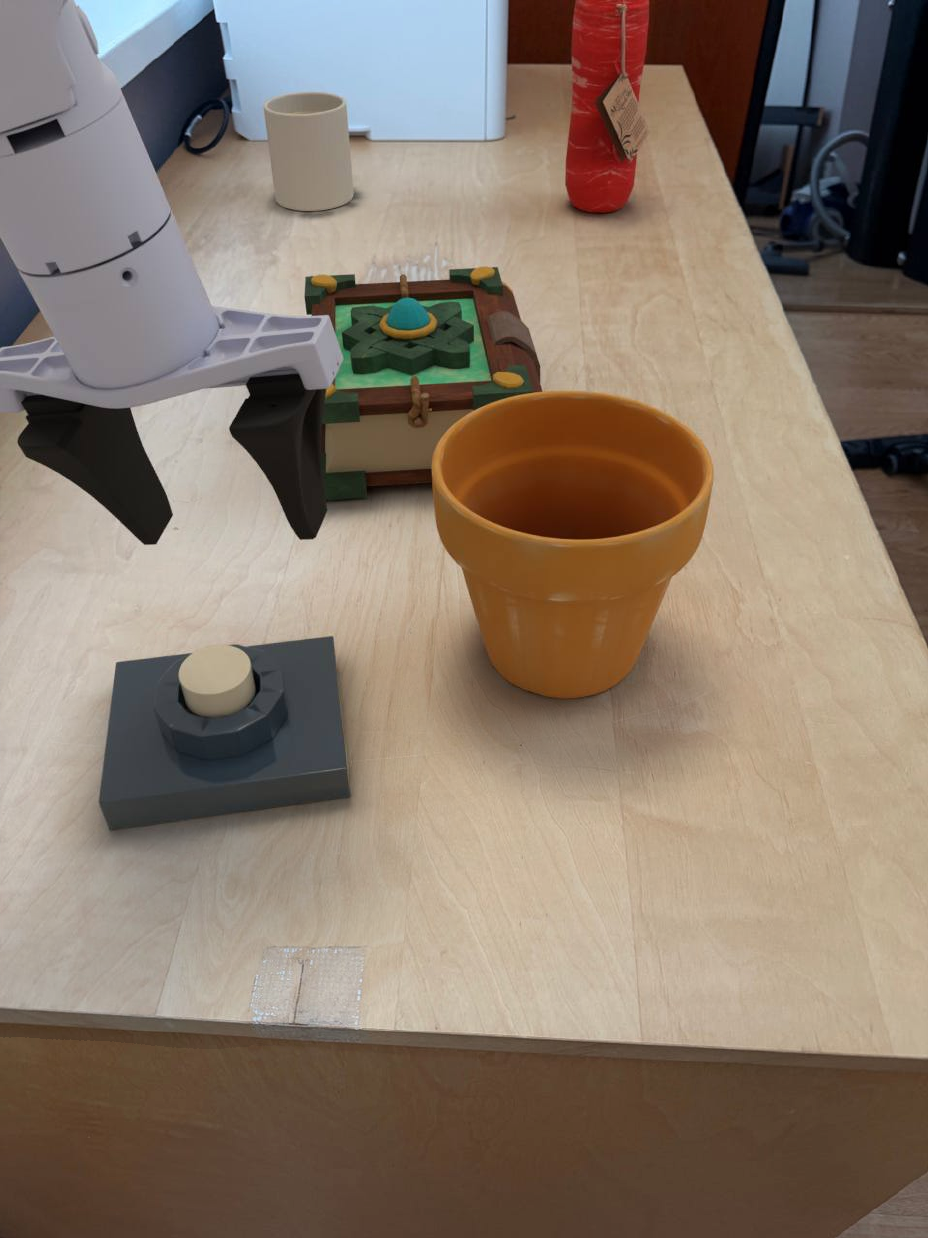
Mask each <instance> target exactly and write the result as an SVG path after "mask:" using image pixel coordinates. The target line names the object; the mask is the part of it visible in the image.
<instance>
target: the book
mask: <svg viewBox="0 0 928 1238" xmlns="http://www.w3.org/2000/svg"><path fill="white" fill-rule="evenodd" d="M448 276H449V277H448V278H449V279H431V280H411V281H408V277H407V275H406V274H404V273H403V274H400V276H399V281H393V282H391V281H390V282H389V281H388V282H373V283H356V274H355V273H351V274H350V273H349V274H331V275H330V274H329V275H328V274H316V275H310V276H305V278H304V279H305V281H304V295H303V297H304V306H305V314H306V316H321V315H328V316H329V317H330V320H331V323H332V326H333V329H334V332H335V335H336V338H337V340H338V343H339V346H340V349H341V352H342V355H343V358H344V359H343V361H342V363H341V365H340V369H339V371H338V373H337V375H336V377H335V378H334V380H333V382H332V384H331V386H330V388H328V389H326V395H325V402H324V410H323V419H322V433H321V461H322V476H323V485H324V493H325V499H326V501H332V500H333V501H334V500H335V501H336V500H349V499H351V500H352V499H364V498H365V499H366V498H368V492H367V490H368V488H367V487H376V486H377V487H379V486H393V485H394V486H395V485H411V484H412V485H413V484H427V483H432V469H431V465H432V457H433V453H434V450H435V448H436V446H437V443H438V442H439V440H440V439H441V437H442V436H443V435H444V434H445V432H446V431H447V430H448V429H449V428H450V427H451V426H452V425H454V424H455V423H456V422H457V421H459V420H460V419H461V418H463V417H464V416H466V415H467V414H469V413H471V412H473V411H474V410H476V409H478V408H481V407H483V406H485V405H488V404H490V403H493V402H496V401H499V400H502V399H505V398H509V397H513V396H517V395H523V394H529V393H536V392H544V391H543V389H542V384H541V364H540V361H539V357H538V353H537V351H536V348H535V344H534V341H533V337H532V335H531V332H530V329H529V327H528V326H527V325H526V324H525V322H523V321H522V318H521V315H520V312H519V308H518V305H517V302H516V298H515V295H514V291H513V290H512V288H511V287H510V286H509V285H508V284H507V283H506V282H504V281H502V277H501V273H500V271H499V267H498V266H492V267H491V266H479V267H470V268H453V269H452V268H451V269H448Z"/></svg>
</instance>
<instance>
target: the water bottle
mask: <svg viewBox="0 0 928 1238" xmlns="http://www.w3.org/2000/svg"><path fill="white" fill-rule="evenodd" d="M574 3H575V4H574V11H573V18H572V30H571V31H572V33H571V49H570V50H571V51H570V52H571V74H572V75H571V77H572V86H571V87H572V90H571V91H572V92H571V112H570V119H569V129H568V137H567V146H566V155H565V156H566V157H565V173H564V174H565V175H564V176H565V178H564V179H565V180H564V186H565V189H566V193H567V195H568V199H569V202H570V203H571V205H572V206H574V207H575V208H576V209H578V210H579V211H582V212H586V213H590V214H606V213H613V212H616V211H618V210H620V209H621V208H623V207H625V206H626V204H627V203H628V201H629V199H630V197H631V194H632V192H633V189H634V186H635V179H636V171H637V170H636V169H637V159H638V152H639V150H640V149H641V147H642V145H643V144H644V143H645V141H646V139H647V138H648V136H649V134H650V133H651V131H650V128H649V125H648V123H647V122H646V118H645V116H644V114H643V112H642V109H641V106H640V104H639V103H640V91H641V83H642V77H643V71H644V66H645V60H646V54H647V45H648V36H649V35H648V34H649V22H650V0H575V2H574Z"/></svg>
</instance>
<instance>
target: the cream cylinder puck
mask: <svg viewBox="0 0 928 1238" xmlns="http://www.w3.org/2000/svg"><path fill="white" fill-rule="evenodd" d="M229 645H230V644H217V645H216V644H215V645H209V646H205V647H203V648H200V649H197V650H196V651H194V652H191V653H192V654H191V655H190V656H188V657H187V658H186V659H185V660H184V662H183V663H182V665H181V667H180V669H179V681H180V684H181V688H182V692H183V695H184V699H185V703H186V705H187V707H188V708H189V709H190V710H191V711H192V712H193V713H195V714H197V715H199V716H202V717H206V718H214V717H222V716H230V715H233V714H235V713H236V712H238V711H240V710H242V709H244V708H245V707H246V706H247V705H248V704H249V703H250V702H251V700H252V699H253V697H254V695H255V691H256V686H255V681H254V676H253V671H252V666H251V662H250V659H249V657H248V656H247V654H246V653H245V652H244V651H242V650H241V649H239V648H236V647H233V646H229Z"/></svg>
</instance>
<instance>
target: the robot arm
mask: <svg viewBox="0 0 928 1238" xmlns="http://www.w3.org/2000/svg"><path fill="white" fill-rule="evenodd" d="M98 44H99V43H98V40H97V37H96V35H95V32H94V30H93V28H92V25H91V22H90V20H89V18H88V16H87V14H86V13H85V11H83V9H82V8H81V7H80V5H77V4H76V2H75V0H0V239H1V242H2V243H3V245H4V247H5V249H6V251H7V253H8V254H9V257H10V258H11V260H12V261H13V263H14V265H15V267H16V270H17V272H18V273H19V275H20V277H21V278H22V281H23V283H24V284H25V286H26V288H27V290H28V292H29V293H30V295H31V297H32V298H33V300H34V302H35V304H36V306H37V308H38V309H39V311H40V313H41V314H42V316H43V319H44V320H45V322H46V324H47V326H48V327H49V330H50V331H51V332H52V335H53V336H51V337H47V338H44V339H40V340H36V341H31V342H27V343H22V344H17V345H9V346H1V347H0V413H1V414H4V415H5V414H16V413H23V412H24V411H25V412H26V414H27V415H26V416H25V419H26V421H27V425H26V426H25V427H24V428H23V430H22V431H21V433H20V434H19V436H18V437H17V441H16V442H17V445H18V447H19V448H20V451H21V452H22V453H23V455H24V456H25V458H27V459H29V460H32V461H34V462H36V463H38V464H40V465H43V466H45V467H46V468H48V469H50V470H52V471H54V472H56V473H57V474H59V475H60V476H62V477H64V478H65V479H67V480H68V481H70V482H71V483H73V484H74V485H76V486H77V487H79V488H80V489H82V491H84V492H86V493H87V494H88V495H90V497H92V498H93V499H94V500H95V501H97V502H98V503H99V504H100V505H101V506H102V507H104V508H105V509H106V510H107V511H108V512H109V513H110V514H111V515H112V516H113V517H115V518H116V519H117V520H118V521H119V522H120V523H121V524H122V525H123V526H124V527H125V528H126V529H127V530H128V531H129V532H130V533H131V534H132V535H133V536H134V537H135V538H136V539H137V540H139V542H141V543H142V545H144V546H150V545H152V546H153V545H157V544H158V542H159V540H160V539H161V537H162V535H163V534H164V532H165V530H166V528H167V526H168V525H169V523H170V521H171V519H172V518H173V517H174V513H173V510H172V507H171V503H170V500H169V498H168V495H167V492H166V490H165V487H164V486H163V484H162V482H161V479H160V478H159V476H158V474H157V471H156V470H155V468H154V466H153V464H152V462H151V460H150V458H149V456H148V454H147V452H146V449H145V447H144V445H143V442H142V439H141V437H140V434H139V431H138V428H137V424H136V422H135V418H134V416H133V413H132V408H136V407H137V408H138V407H142V406H145V405H146V406H147V405H149V404H154V403H157V402H160V401H164V400H168V399H172V398H175V397H179V396H182V395H187V394H190V393H193V392H198V391H200V390H206V389H217V388H218V389H219V388H229V387H231V388H232V387H241V386H243V387H244V386H246V389H247V391H248V394H249V395H248V397H246V398H245V399H244V400H243V402H242V404H241V405H240V408H239V409H238V411H237V413H236V414H235V416H234V418H233V420H232V422H231V424H230V425H229V426H228V430H229V432H230V436H231V437H232V438H233V440H235V441H236V442H237V443H238V444H239V445H240V446H241V447H242V448H243V449H245V451H246V452H247V453H248V454H249V455H250V457H251V458H252V459H253V461H254V462H255V463H256V465H257V466H258V467H259V468H260V470H261V472H262V473H263V474H264V476H265V477H266V479H267V481H268V482H269V484H270V485H271V487H272V489H273V491H274V493H275V495H276V498H277V500H278V502H279V504H280V506H281V509H282V511H283V513H284V516H285V518H286V519H287V523H288V524H289V526H290V528H291V530H292V531H293V533H294V534H295V535H296V537H297V538H298V539H299V540H300V541H302V540H303V541H306V540H308V541H309V540H315V539H316V538H317V536H318V534H319V531H320V529H321V527H322V525H323V522H324V520H325V517H326V515H327V513H328V506H327V500H326V499H325V493H324V485H323V476H322V461H321V433H322V419H323V410H324V402H325V395H326V389H328V388H330V386H331V384H332V382H333V380H334V378H335V377H336V375H337V373H338V371H339V369H340V365H341V363H342V361H343V359H344V358H343V355H342V352H341V349H340V346H339V343H338V340H337V338H336V335H335V332H334V329H333V326H332V323H331V320H330V317H329V316H328V315H321V316H312V315H287V314H286V315H285V314H277V313H269V312H261V311H254V310H246V309H239V308H230V307H221V306H214V305H212V303H211V301H210V299H209V296H208V294H207V291H206V289H205V286H204V285H203V282H202V279H201V277H200V275H199V273H198V270H197V267H196V265H195V263H194V261H193V258H192V255H191V253H190V251H189V249H188V248H189V247H188V246H187V244H186V241H185V239H184V236H183V234H182V232H181V230H180V227H179V225H178V222H177V220H176V218H175V215H174V213H173V211H172V208H171V206H170V203H169V200H168V198H167V196H166V193H165V191H164V189H163V187H162V184H161V181H160V179H159V176H158V174H157V172H156V170H155V167H154V165H153V163H152V160H151V158H150V156H149V153H148V150H147V148H146V146H145V144H144V141H143V139H142V136H141V134H140V132H139V130H138V129H139V128H138V127H137V125H136V122H135V120H134V118H133V115H132V113H131V110H130V108H129V106H128V103H127V101H126V97H125V96H124V94H123V91H122V89H121V85H120V84H119V81H118V79H117V76H116V75H115V74H114V72H113V71H112V70H111V69H110V68H109V67H108V66H107V65H105V63H103V62H102V60H101V59H100V57H99V56H98V55H99V53H100V52H99V45H98Z"/></svg>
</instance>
